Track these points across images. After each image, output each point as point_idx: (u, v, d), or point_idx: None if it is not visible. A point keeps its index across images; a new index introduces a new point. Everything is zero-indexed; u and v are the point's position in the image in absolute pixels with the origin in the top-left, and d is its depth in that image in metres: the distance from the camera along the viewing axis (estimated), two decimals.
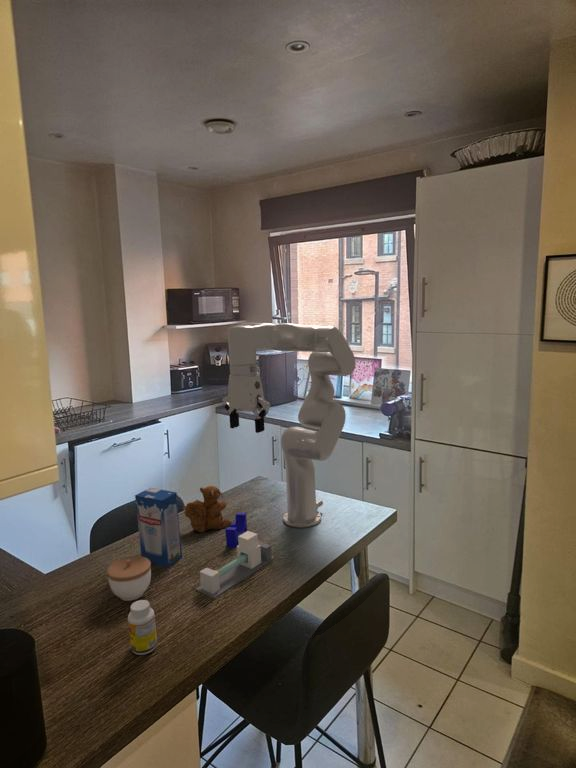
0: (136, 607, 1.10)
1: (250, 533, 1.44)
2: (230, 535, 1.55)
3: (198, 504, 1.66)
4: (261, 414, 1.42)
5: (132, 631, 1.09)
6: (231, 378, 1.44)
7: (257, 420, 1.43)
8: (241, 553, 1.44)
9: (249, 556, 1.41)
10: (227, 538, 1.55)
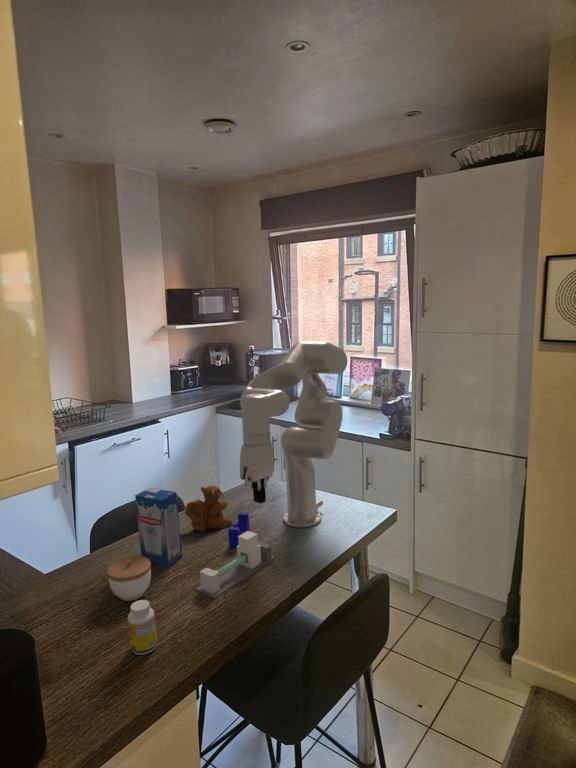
0: (136, 607, 1.10)
1: (250, 533, 1.44)
2: (233, 535, 1.55)
3: (199, 503, 1.66)
4: None
5: (132, 631, 1.09)
6: (256, 449, 1.40)
7: None
8: (241, 553, 1.44)
9: (249, 556, 1.41)
10: (230, 538, 1.55)
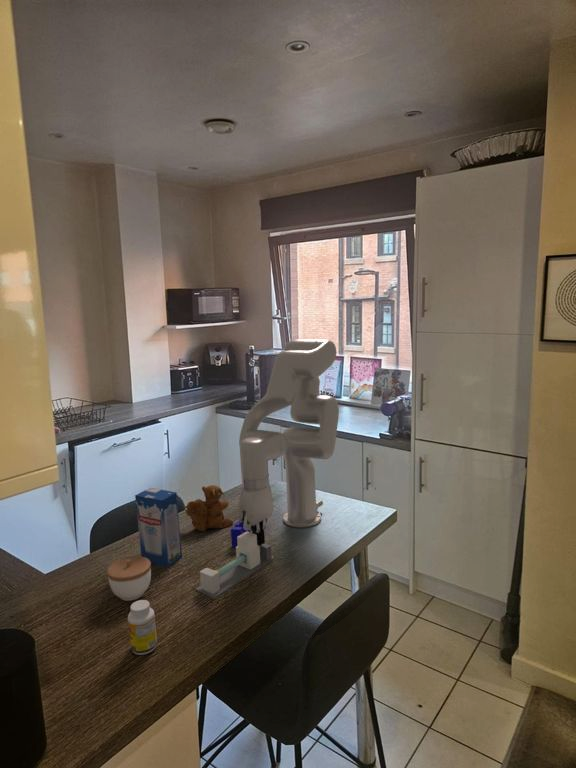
0: (136, 607, 1.10)
1: (249, 534, 1.44)
2: (235, 534, 1.55)
3: (199, 503, 1.67)
4: None
5: (132, 631, 1.09)
6: (255, 494, 1.41)
7: None
8: (240, 554, 1.43)
9: (248, 557, 1.41)
10: (232, 538, 1.55)
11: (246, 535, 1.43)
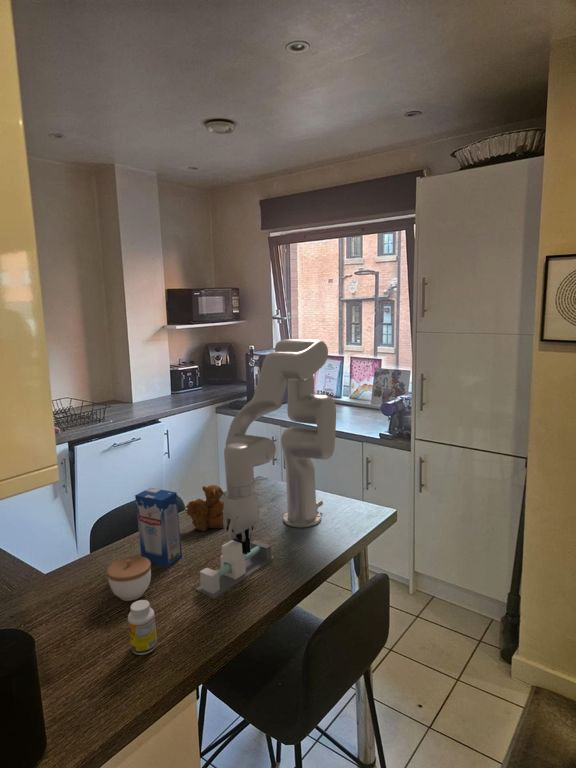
0: (136, 607, 1.10)
1: (234, 542, 1.39)
2: None
3: (200, 503, 1.67)
4: None
5: (132, 631, 1.09)
6: (240, 501, 1.36)
7: None
8: (225, 563, 1.39)
9: (233, 566, 1.36)
10: None
11: (231, 544, 1.38)
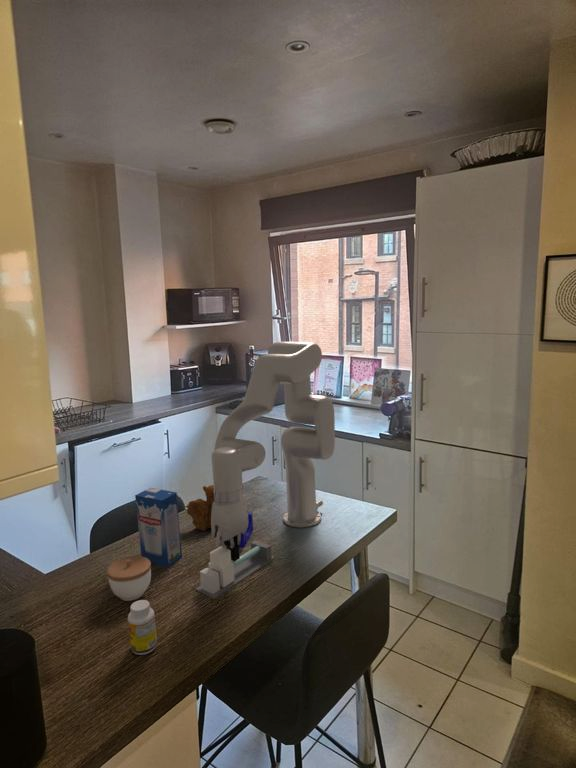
0: (136, 607, 1.10)
1: (223, 549, 1.36)
2: None
3: (200, 502, 1.67)
4: None
5: (132, 631, 1.09)
6: (228, 507, 1.33)
7: None
8: None
9: (221, 574, 1.33)
10: None
11: (219, 550, 1.35)
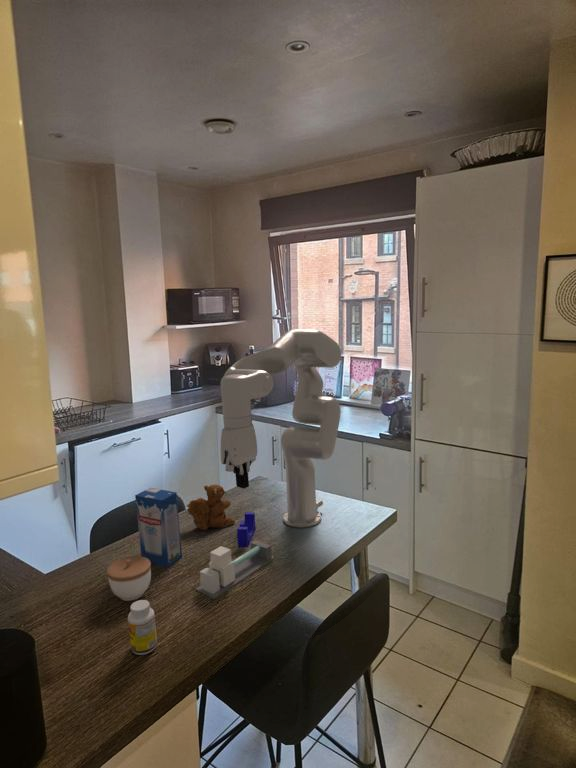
0: (136, 607, 1.10)
1: (223, 549, 1.36)
2: (241, 534, 1.55)
3: (201, 502, 1.67)
4: None
5: (132, 631, 1.09)
6: (237, 433, 1.34)
7: None
8: None
9: (221, 573, 1.33)
10: (239, 538, 1.55)
11: (220, 550, 1.35)
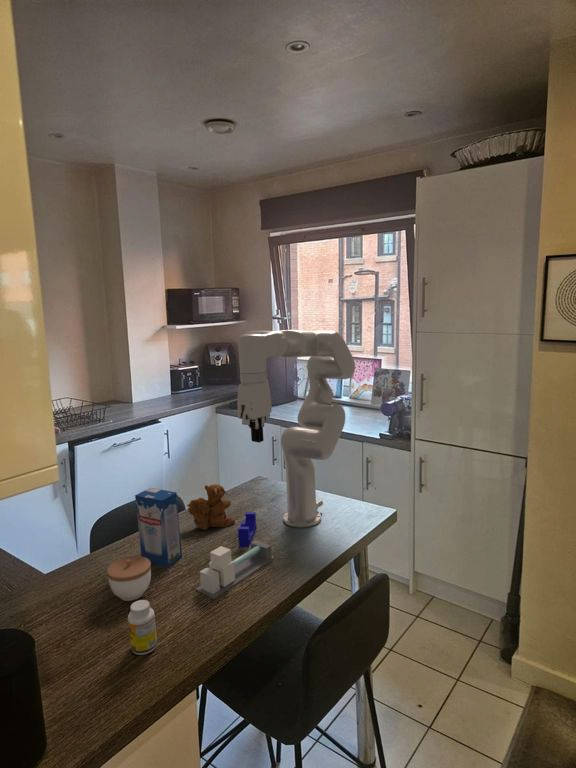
0: (136, 607, 1.10)
1: (223, 549, 1.36)
2: (242, 534, 1.55)
3: (201, 502, 1.68)
4: None
5: (132, 631, 1.09)
6: (254, 388, 1.42)
7: None
8: None
9: (221, 573, 1.33)
10: (240, 538, 1.55)
11: (220, 550, 1.35)
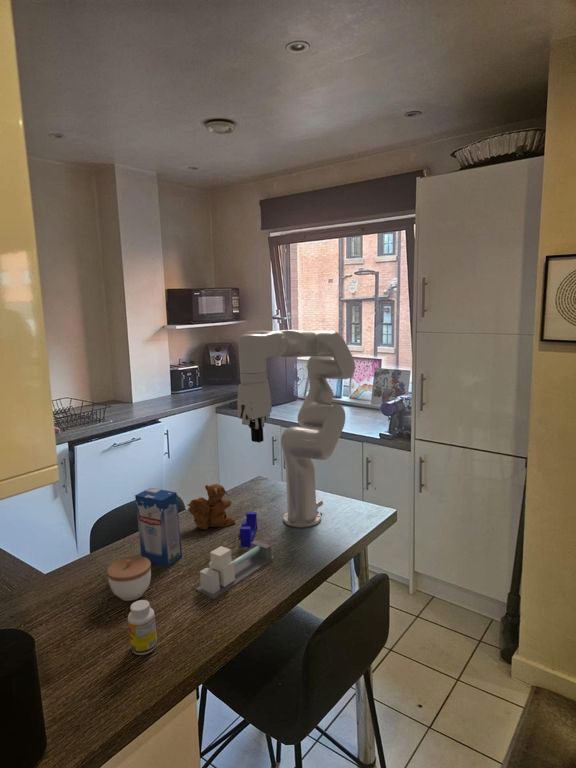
0: (136, 607, 1.10)
1: (223, 549, 1.36)
2: (244, 534, 1.55)
3: (201, 501, 1.68)
4: None
5: (132, 631, 1.09)
6: (254, 388, 1.42)
7: None
8: None
9: (221, 573, 1.33)
10: (241, 538, 1.55)
11: (220, 550, 1.35)
